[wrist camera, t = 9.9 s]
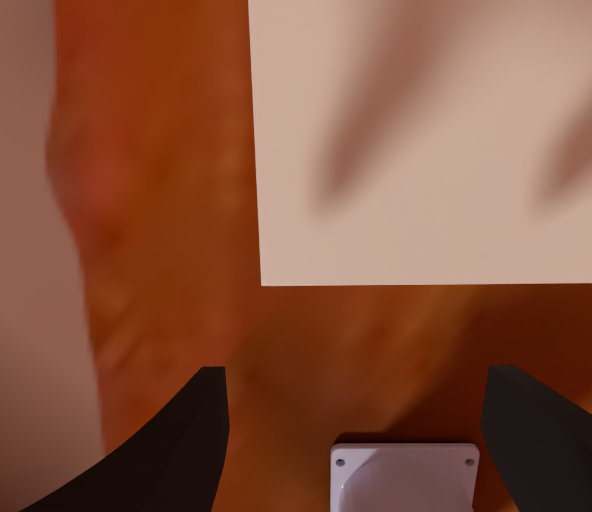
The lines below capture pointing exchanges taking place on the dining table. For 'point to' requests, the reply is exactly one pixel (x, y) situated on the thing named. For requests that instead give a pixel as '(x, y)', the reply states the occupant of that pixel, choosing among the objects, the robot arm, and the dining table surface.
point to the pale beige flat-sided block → (423, 141)
